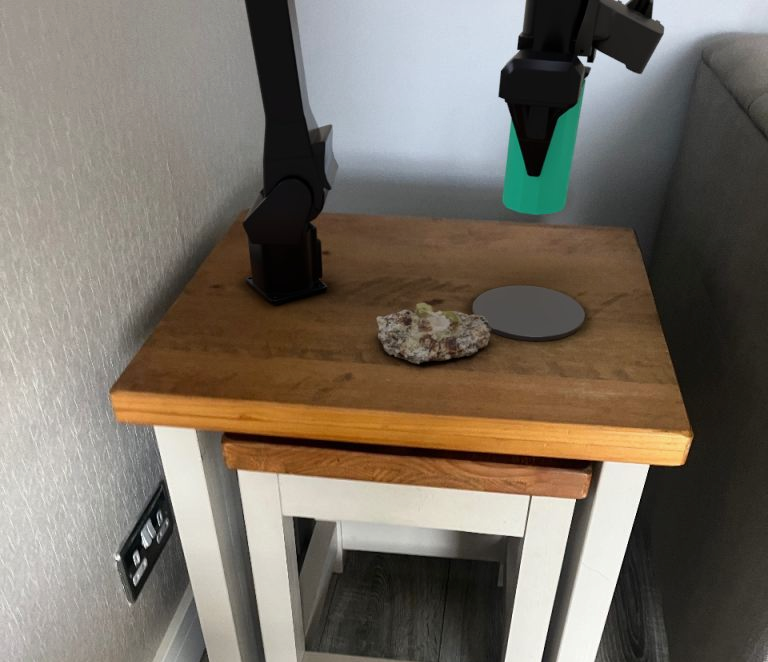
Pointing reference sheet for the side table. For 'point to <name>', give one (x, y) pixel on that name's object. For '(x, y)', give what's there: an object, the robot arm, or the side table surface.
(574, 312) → the slate coaster
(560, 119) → the candle
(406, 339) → the mineral rock
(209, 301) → the side table surface
